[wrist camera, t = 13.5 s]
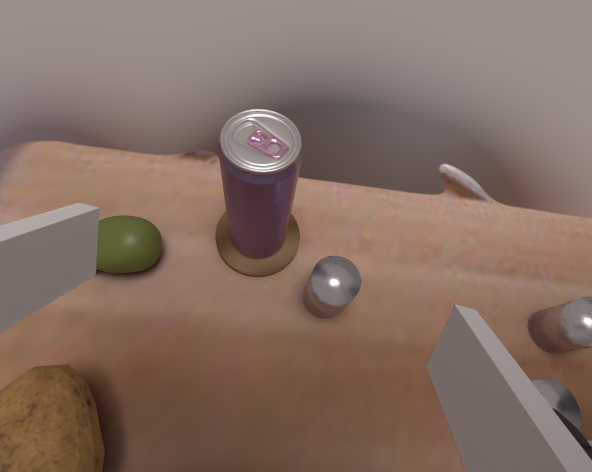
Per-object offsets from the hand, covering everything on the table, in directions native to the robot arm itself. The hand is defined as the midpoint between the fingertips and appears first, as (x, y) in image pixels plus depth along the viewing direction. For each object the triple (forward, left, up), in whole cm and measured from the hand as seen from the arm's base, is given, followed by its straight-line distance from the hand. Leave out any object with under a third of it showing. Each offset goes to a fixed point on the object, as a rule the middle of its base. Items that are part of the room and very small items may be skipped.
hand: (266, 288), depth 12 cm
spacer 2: (-12, -29, -22) cm, 38 cm away
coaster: (+11, -6, -22) cm, 25 cm away
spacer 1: (+2, -9, -22) cm, 24 cm away
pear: (+16, +8, -22) cm, 29 cm away
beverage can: (+11, -5, -21) cm, 25 cm away
